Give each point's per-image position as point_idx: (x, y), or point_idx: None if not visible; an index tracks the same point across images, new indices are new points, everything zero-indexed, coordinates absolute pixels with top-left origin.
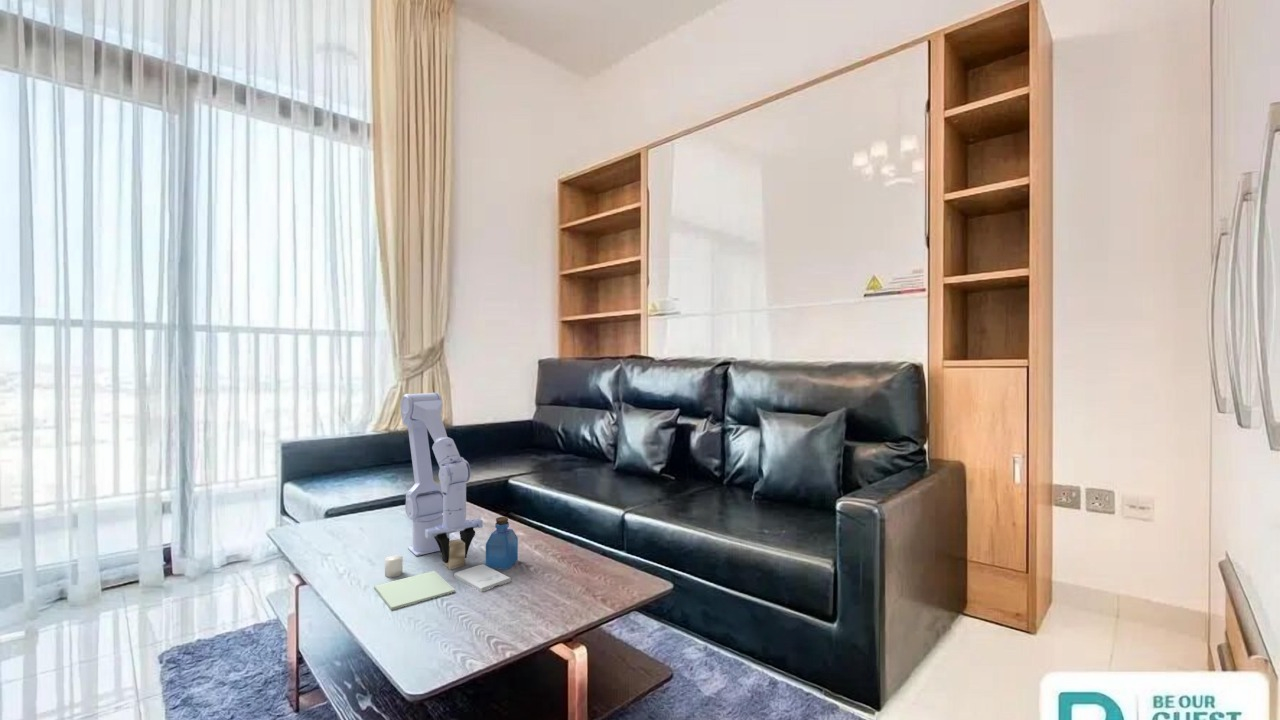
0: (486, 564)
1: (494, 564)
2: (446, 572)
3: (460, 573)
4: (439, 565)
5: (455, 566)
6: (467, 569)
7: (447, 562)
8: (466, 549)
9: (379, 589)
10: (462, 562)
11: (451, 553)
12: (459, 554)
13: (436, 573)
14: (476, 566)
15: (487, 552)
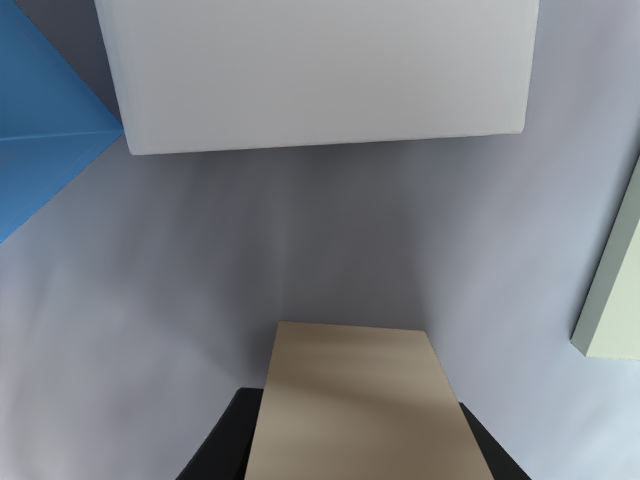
0: (98, 125)
1: (2, 22)
2: (487, 288)
3: (495, 53)
4: None
5: (373, 336)
6: (361, 118)
7: None
8: (216, 469)
9: None
10: (303, 343)
11: (466, 466)
12: (338, 422)
13: (620, 285)
14: (232, 128)
15: None
